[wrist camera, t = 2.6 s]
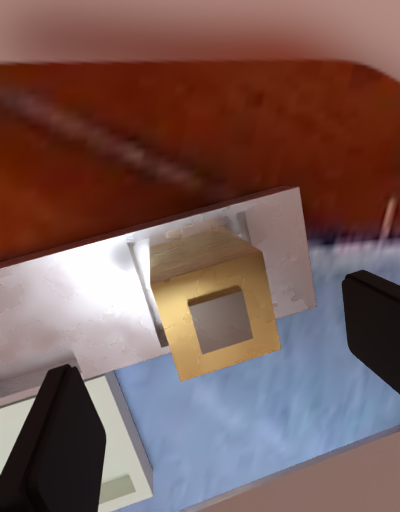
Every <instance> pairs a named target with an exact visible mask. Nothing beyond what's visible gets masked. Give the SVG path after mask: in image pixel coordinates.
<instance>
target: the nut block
mask: <svg viewBox="0 0 400 512" xmlns="http://www.w3.org/2000/svg"><path fill="white" fill-rule="evenodd" d="M149 264H150V287H151V290H152V293H153V296H154V299H155V303H156V306H157V309H158V312H159V315H160V318H161V322H162V325H163V328H164V331H165V334H166V337H167V340H168V344H169V347H170V350H171V353H172V356H173V359H174V363H175V366H176V369H177V372H178V375H179V378H180V381H181V382H182V381H185V380H188V379H191V378H194V377H197V376H200V375H203V374H206V373H209V372H212V371H216V370H219V369H222V368H225V367H228V366H231V365H234V364H237V363H240V362H243V361H246V360H249V359H253V358H256V357H259V356H262V355H265V354H268V353H271V352H274V351H277V350H280V349H281V345H280V340H279V335H278V330H277V324H276V319H275V314H274V309H273V304H272V298H271V293H270V288H269V283H268V278H267V273H266V267H265V262H264V257H263V252H262V251H261V250H259V249H258V248H256V247H255V246H253V245H252V244H250V243H248V242H247V241H245V240H244V239H242V238H241V237H239V236H238V235H236V234H235V233H233V232H232V231H230V230H229V229H227V228H226V227H224V226H223V227H219V228H216V229H212V230H209V231H205V232H201V233H198V234H194V235H191V236H187V237H184V238H180V239H176V240H173V241H169V242H166V243H162V244H158V245H155V246H151V247H149Z"/></svg>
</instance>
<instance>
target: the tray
mask: <svg viewBox="0 0 400 512" xmlns="http://www.w3.org/2000/svg"><path fill="white" fill-rule="evenodd" d="M83 381H84V383H85V386H86V388H87V390H88V392H89V395H90V397H91V399H92V401H93V404H94V406H95V408H96V410H97V413H98V415H99V417H100V419H101V422H102V424H103V426H104V429H105V432H106V449H105V457H104V465H103V474H102V482H101V490H100V498H99V506H98V512H111V511H114V510H116V509H119V508H122V507H125V506H128V505H130V504H133V503H136V502H139V501H142V500H144V499H147V498H150V497H153V470H152V468H151V465H150V463H149V460H148V457H147V455H146V452H145V450H144V447H143V445H142V442H141V439H140V437H139V434H138V432H137V429H136V427H135V424H134V422H133V419H132V416H131V414H130V411H129V409H128V406H127V404H126V401H125V398H124V396H123V393H122V391H121V388H120V386H119V383H118V381H117V378H116V375H115V373H114V370H113V371H110V372H107V373H104V374H100V375H97V376H94V377H91V378H88V379H84V380H83ZM36 396H37V395H33V396H30V397H27V398H24V399H21V400H18V401H14V402H11V403H8V404H5V405H2V406H0V474H1V472H2V470H3V468H4V466H5V464H6V461H7V459H8V457H9V455H10V453H11V450H12V448H13V446H14V444H15V442H16V440H17V437H18V435H19V433H20V431H21V429H22V426H23V424H24V422H25V420H26V418H27V415H28V413H29V411H30V409H31V407H32V405H33V402H34V400H35V398H36Z"/></svg>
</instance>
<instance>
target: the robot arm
mask: <svg viewBox="0 0 400 512" xmlns="http://www.w3.org/2000/svg"><path fill="white" fill-rule="evenodd" d="M342 292H343V302H344V311H345V321H346V331H347V341H348V346H349V349H350V351H351V352H352V353H353V354H354V355H355V356H356V357H357V358H358V359H359V360H360V361H362V362H363V363H364V364H365V365H366V366H367V367H369V368H370V369H371V370H372V371H373V372H374V373H376V374H377V375H378V376H379V377H380V378H381V379H383V380H384V381H385V382H386V383H387V384H388V385H390V386H391V387H392V388H393V389H394V390H395V391H396V392H398V393H399V394H400V286H399V285H397V284H395V283H393V282H390V281H388V280H386V279H383V278H381V277H379V276H377V275H374V274H372V273H370V272H368V271H365V270H360V271H357V272H354V273H351V274H347V275H346V276H345V280H343V281H342ZM105 449H106V432H105V429H104V426H103V424H102V422H101V419H100V417H99V415H98V413H97V410H96V408H95V406H94V404H93V401H92V399H91V397H90V395H89V392H88V390H87V388H86V386H85V383H84V381H83V379H82V377H81V374H80V372H79V370H78V368H77V367H76V366H74V367H71V366H70V365H69V364H65V365H62V366H59V367H56V368H53V369H50V370H48V372H47V374H46V376H45V378H44V381H43V383H42V385H41V387H40V389H39V391H38V394H37V396H36V398H35V400H34V402H33V405H32V407H31V409H30V411H29V413H28V415H27V418H26V420H25V422H24V424H23V426H22V429H21V431H20V433H19V435H18V437H17V440H16V442H15V444H14V446H13V448H12V450H11V453H10V455H9V457H8V459H7V461H6V464H5V466H4V468H3V470H2V472H1V474H0V512H98V506H99V498H100V490H101V482H102V474H103V465H104V457H105ZM177 512H400V425H398V426H395V427H393V428H390V429H387V430H385V431H382V432H379V433H377V434H374V435H372V436H369V437H366V438H364V439H361V440H359V441H356V442H353V443H351V444H348V445H346V446H343V447H340V448H338V449H335V450H333V451H330V452H328V453H325V454H322V455H320V456H317V457H315V458H312V459H310V460H307V461H304V462H302V463H299V464H297V465H294V466H292V467H289V468H286V469H284V470H281V471H279V472H276V473H274V474H271V475H268V476H266V477H263V478H261V479H258V480H256V481H253V482H251V483H248V484H245V485H243V486H240V487H238V488H235V489H233V490H230V491H228V492H225V493H223V494H220V495H218V496H215V497H213V498H210V499H208V500H205V501H203V502H200V503H197V504H195V505H192V506H190V507H187V508H185V509H182V510H180V511H177Z"/></svg>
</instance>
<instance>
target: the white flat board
mask: <svg viewBox="0 0 400 512" xmlns="http://www.w3.org/2000/svg"><path fill="white" fill-rule="evenodd" d="M223 226H224V227H226V228H227V229H229V230H230V231H232V232H233V233H235V234H236V235H238V236H239V237H241V238H242V239H244V240H245V241H247V242H248V243H250V244H252V245H253V246H255V247H256V248H258V249H259V250H261V251H262V252H263V257H264V262H265V267H266V273H267V278H268V283H269V288H270V293H271V298H272V304H273V309H274V314H275V319H279V318H282V317H285V316H288V315H292V314H295V313H298V312H301V311H304V310H308V309H311V308H314V307H317V306H316V299H315V292H314V285H313V278H312V271H311V265H310V258H309V251H308V244H307V237H306V230H305V224H304V217H303V210H302V203H301V196H300V190H299V187H293V186H278V187H275V188H271V189H267V190H264V191H260V192H256V193H252V194H249V195H245V196H241V197H238V198H234V199H230V200H227V201H223V202H219V203H216V204H212V205H208V206H205V207H201V208H197V209H193V210H190V211H186V212H182V213H179V214H175V215H171V216H168V217H164V218H160V219H157V220H153V221H149V222H146V223H142V224H138V225H134V226H131V227H127V228H123V229H120V230H116V231H112V232H109V233H105V234H101V235H98V236H94V237H90V238H87V239H83V240H79V241H75V242H72V243H68V244H64V245H61V246H57V247H53V248H50V249H46V250H42V251H39V252H35V253H31V254H28V255H24V256H20V257H16V258H13V259H9V260H5V261H2V262H0V406H2V405H5V404H8V403H11V402H14V401H18V400H21V399H24V398H27V397H30V396H33V395H37V394H38V391H39V389H40V387H41V385H42V383H43V381H44V378H45V376H46V374H47V372H48V370H50V369H53V368H56V367H59V366H62V365H65V364H69V365H70V366H71V367H74V366H76V367H77V368H78V370H79V372H80V374H81V377H82V379H83V380H84V379H88V378H91V377H94V376H97V375H100V374H104V373H107V372H110V371H113V370H116V369H120V368H123V367H126V366H129V365H132V364H135V363H139V362H142V361H145V360H148V359H151V358H155V357H158V356H161V355H164V354H167V353H171V350H170V347H169V344H168V340H167V337H166V334H165V331H164V328H163V325H162V322H161V318H160V315H159V312H158V309H157V306H156V303H155V299H154V296H153V293H152V290H151V287H150V264H149V247H151V246H155V245H158V244H162V243H166V242H169V241H173V240H176V239H180V238H184V237H187V236H191V235H194V234H198V233H201V232H205V231H209V230H212V229H216V228H219V227H223Z"/></svg>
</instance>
